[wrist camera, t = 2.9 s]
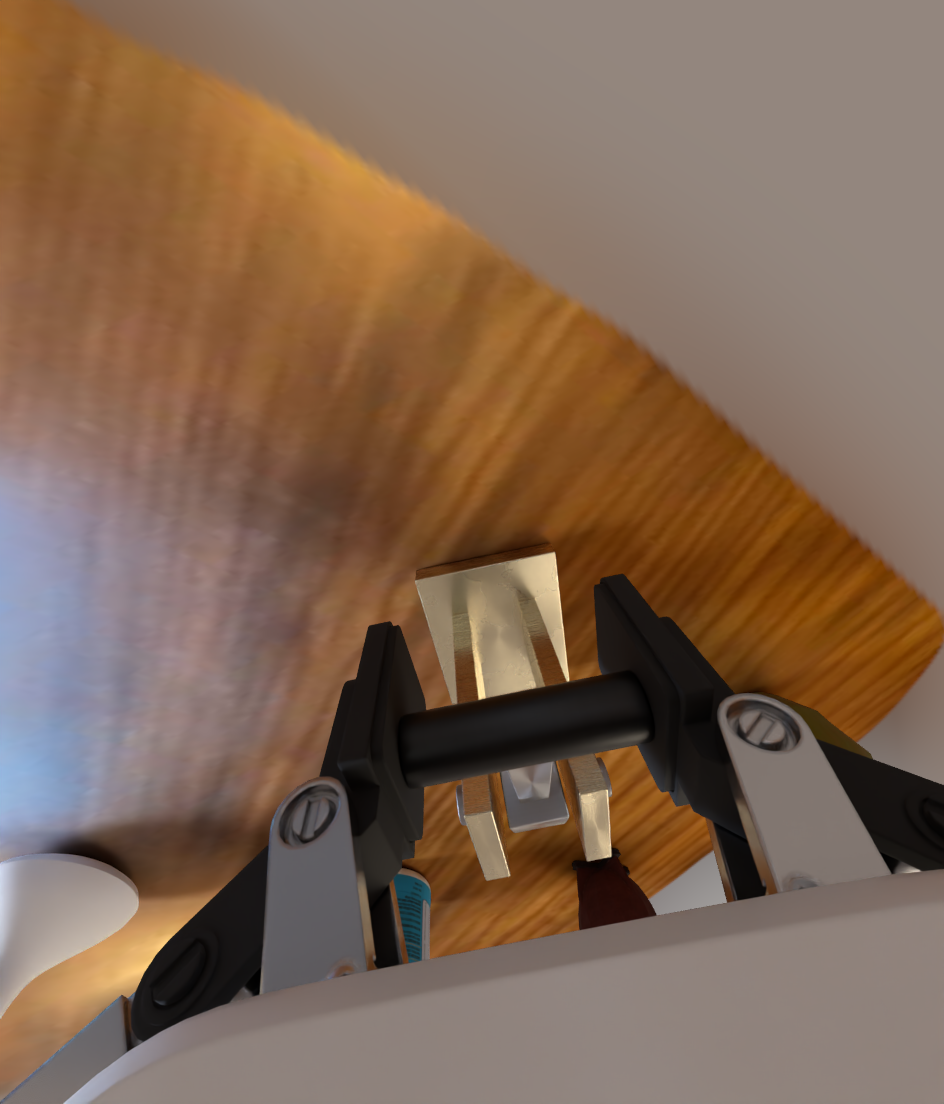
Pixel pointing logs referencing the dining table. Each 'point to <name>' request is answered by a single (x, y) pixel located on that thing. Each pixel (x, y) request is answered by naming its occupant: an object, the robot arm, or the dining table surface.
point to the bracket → (508, 678)
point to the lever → (526, 740)
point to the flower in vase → (56, 913)
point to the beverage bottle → (414, 912)
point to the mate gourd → (608, 894)
